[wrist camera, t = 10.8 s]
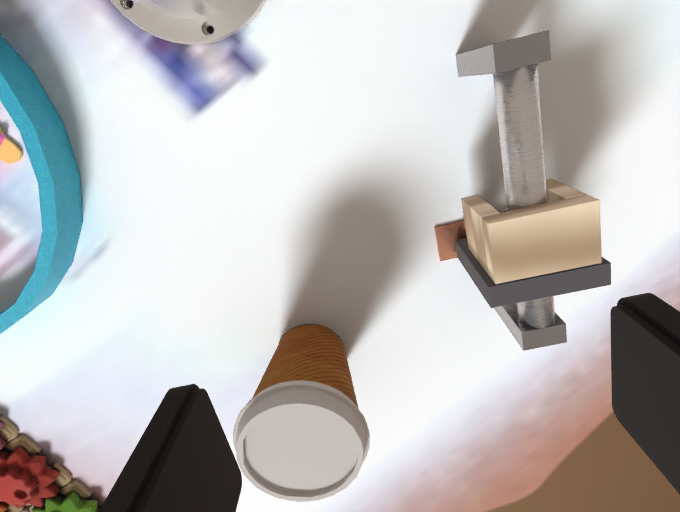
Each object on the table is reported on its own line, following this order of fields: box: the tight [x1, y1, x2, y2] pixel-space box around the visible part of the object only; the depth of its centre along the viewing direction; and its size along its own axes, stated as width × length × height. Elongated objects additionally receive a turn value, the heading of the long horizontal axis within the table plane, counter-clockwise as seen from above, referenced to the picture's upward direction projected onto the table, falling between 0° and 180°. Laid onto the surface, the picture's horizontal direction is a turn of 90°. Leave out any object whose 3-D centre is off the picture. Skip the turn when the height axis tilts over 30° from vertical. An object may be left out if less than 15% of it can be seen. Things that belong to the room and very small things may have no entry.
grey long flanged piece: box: [434, 30, 567, 351], centre depth 31 cm, size 20×10×8 cm, turn 13°
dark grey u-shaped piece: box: [455, 238, 611, 308], centre depth 31 cm, size 2×7×9 cm, turn 103°
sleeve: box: [461, 179, 602, 284], centre depth 29 cm, size 4×6×7 cm, turn 104°
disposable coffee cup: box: [233, 324, 369, 502], centre depth 35 cm, size 10×10×12 cm
